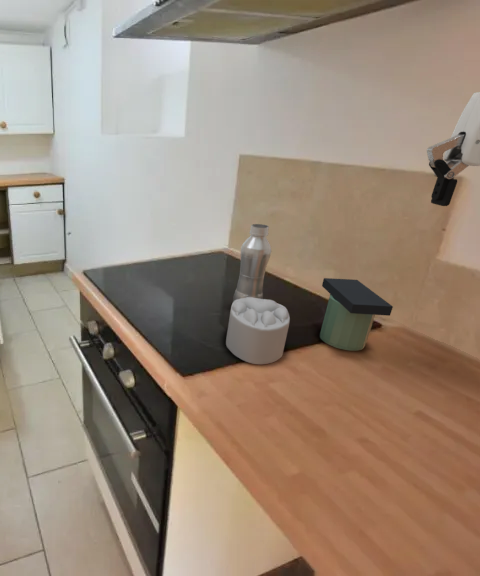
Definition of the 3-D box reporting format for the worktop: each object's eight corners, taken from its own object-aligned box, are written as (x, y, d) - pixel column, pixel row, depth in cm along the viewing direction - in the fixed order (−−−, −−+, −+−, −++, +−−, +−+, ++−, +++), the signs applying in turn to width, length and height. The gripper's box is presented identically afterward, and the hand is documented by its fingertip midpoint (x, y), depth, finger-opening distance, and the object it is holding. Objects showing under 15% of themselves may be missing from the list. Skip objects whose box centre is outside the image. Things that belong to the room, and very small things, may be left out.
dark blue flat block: (354, 287, 78) (357, 279, 77) (390, 315, 66) (393, 306, 66) (321, 286, 79) (323, 277, 78) (350, 313, 67) (353, 304, 66)
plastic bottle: (263, 307, 90) (278, 224, 83) (257, 318, 85) (273, 231, 77) (235, 301, 94) (247, 221, 86) (228, 311, 88) (240, 227, 81)
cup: (353, 332, 79) (365, 292, 76) (372, 352, 72) (386, 309, 69) (313, 329, 80) (323, 290, 77) (328, 349, 73) (340, 306, 70)
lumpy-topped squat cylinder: (281, 335, 78) (289, 297, 74) (284, 369, 67) (294, 326, 63) (228, 326, 81) (233, 289, 78) (223, 357, 70) (229, 315, 67)
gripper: (568, 82, 54) (517, 202, 61) (433, 84, 57) (398, 200, 63) (627, 74, 47) (562, 211, 54) (471, 77, 50) (427, 208, 56)
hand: (474, 205), depth 58 cm, fingers open, 9 cm apart
